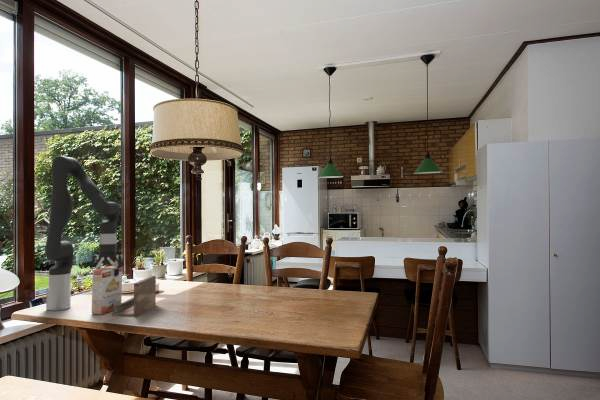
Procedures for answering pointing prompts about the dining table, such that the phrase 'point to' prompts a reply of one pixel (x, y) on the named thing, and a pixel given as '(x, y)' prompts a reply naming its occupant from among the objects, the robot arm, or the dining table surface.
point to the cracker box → (106, 290)
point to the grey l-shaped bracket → (138, 299)
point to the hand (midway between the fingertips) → (107, 276)
